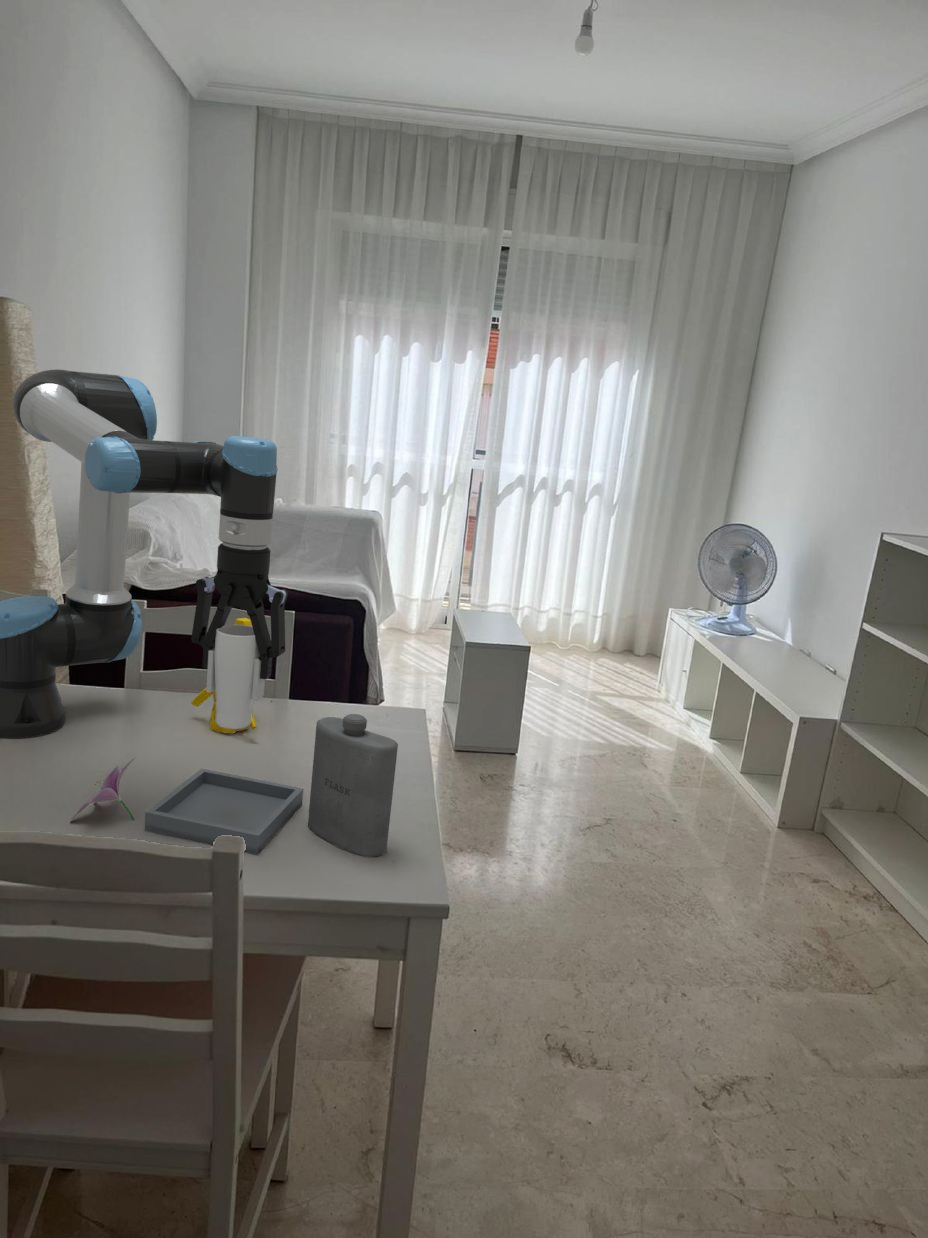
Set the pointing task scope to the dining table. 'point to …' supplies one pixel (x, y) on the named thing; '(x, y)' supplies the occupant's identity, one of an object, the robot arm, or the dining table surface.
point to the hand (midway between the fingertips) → (235, 693)
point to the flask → (352, 785)
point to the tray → (225, 809)
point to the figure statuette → (205, 695)
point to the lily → (109, 789)
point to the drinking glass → (234, 675)
